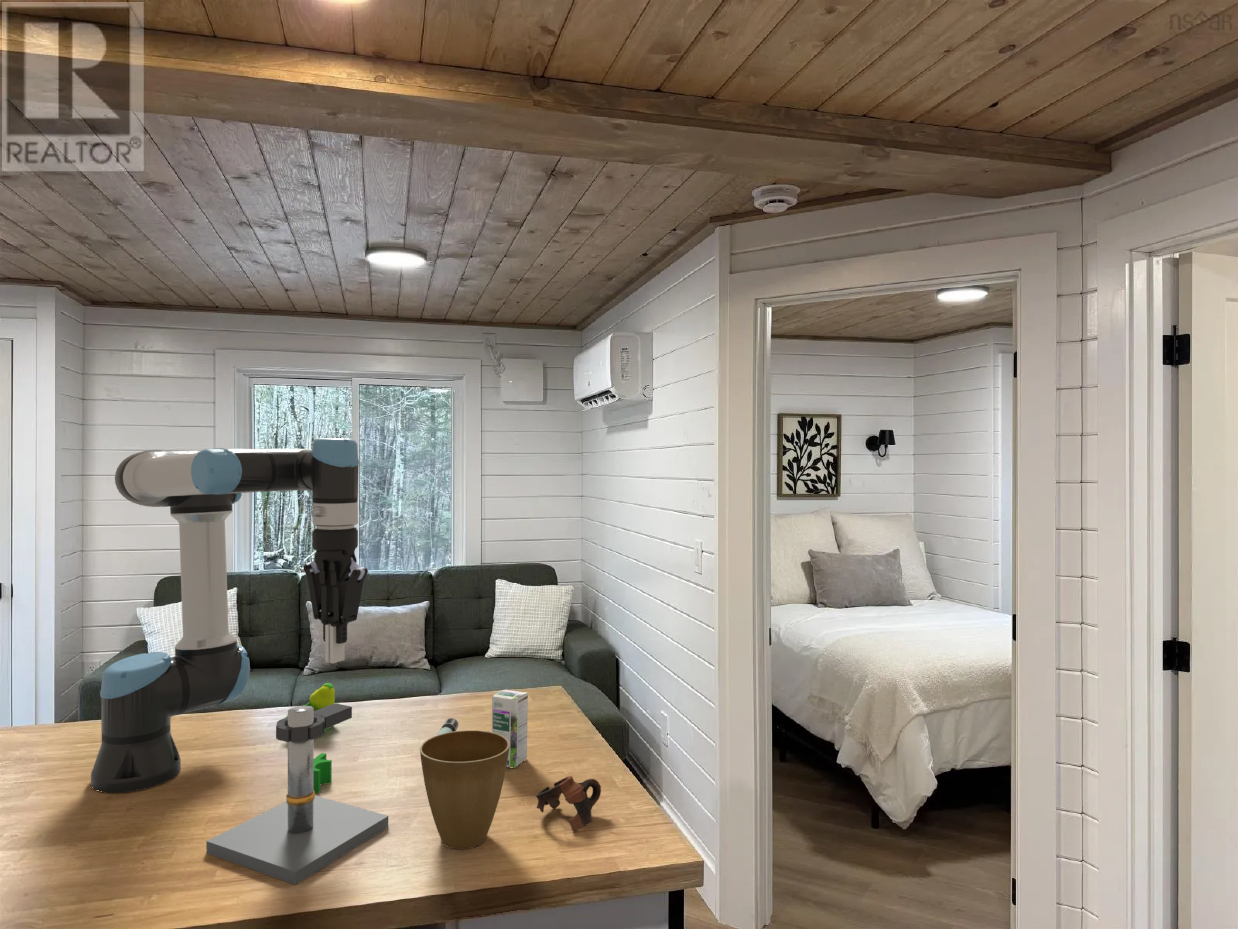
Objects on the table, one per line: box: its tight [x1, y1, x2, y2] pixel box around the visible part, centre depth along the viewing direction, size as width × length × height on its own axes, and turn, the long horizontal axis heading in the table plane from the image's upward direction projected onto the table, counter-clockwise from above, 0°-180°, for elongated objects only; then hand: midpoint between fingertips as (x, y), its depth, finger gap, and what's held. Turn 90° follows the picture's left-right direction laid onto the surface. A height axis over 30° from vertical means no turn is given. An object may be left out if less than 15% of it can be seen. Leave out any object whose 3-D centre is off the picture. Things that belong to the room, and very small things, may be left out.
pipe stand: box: [205, 794, 389, 885], centre depth 132 cm, size 20×20×2 cm
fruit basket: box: [285, 682, 340, 732], centre depth 181 cm, size 11×9×11 cm
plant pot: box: [419, 729, 510, 850], centre depth 133 cm, size 15×15×16 cm
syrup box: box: [491, 689, 529, 769], centre depth 165 cm, size 6×6×14 cm
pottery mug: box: [535, 775, 602, 832], centre depth 141 cm, size 12×10×8 cm
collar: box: [275, 702, 353, 743], centre depth 134 cm, size 7×13×2 cm, turn 154°
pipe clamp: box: [313, 752, 333, 794], centre depth 152 cm, size 11×4×5 cm, turn 173°
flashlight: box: [436, 717, 459, 736], centre depth 173 cm, size 3×4×20 cm
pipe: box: [285, 705, 316, 834], centre depth 132 cm, size 4×4×20 cm
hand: (335, 660), depth 138 cm, fingers closed
